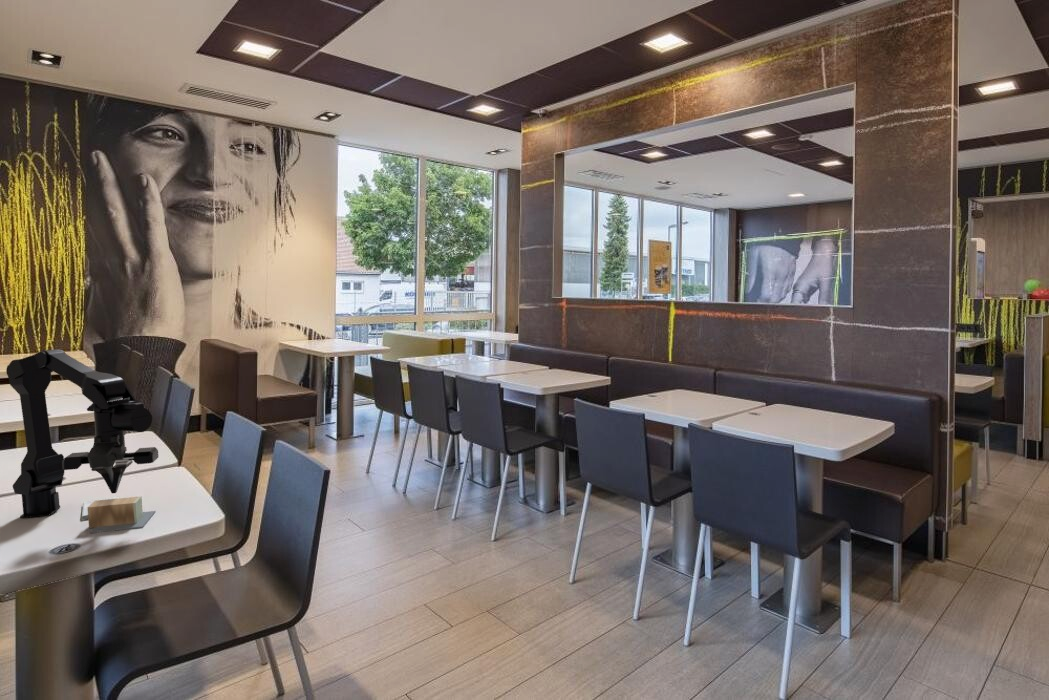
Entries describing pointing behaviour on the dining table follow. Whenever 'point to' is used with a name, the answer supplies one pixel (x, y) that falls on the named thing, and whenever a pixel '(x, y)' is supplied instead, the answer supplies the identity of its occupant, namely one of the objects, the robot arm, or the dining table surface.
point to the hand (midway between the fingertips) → (114, 492)
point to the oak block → (115, 511)
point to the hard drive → (85, 509)
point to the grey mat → (139, 524)
